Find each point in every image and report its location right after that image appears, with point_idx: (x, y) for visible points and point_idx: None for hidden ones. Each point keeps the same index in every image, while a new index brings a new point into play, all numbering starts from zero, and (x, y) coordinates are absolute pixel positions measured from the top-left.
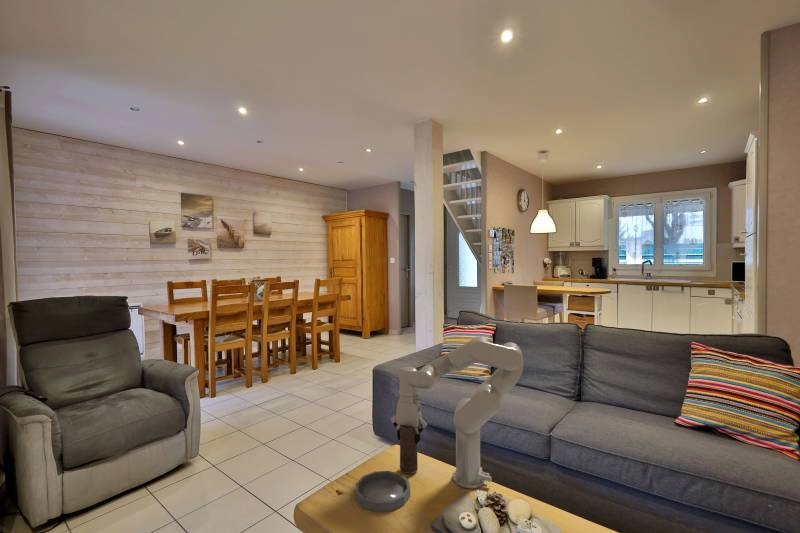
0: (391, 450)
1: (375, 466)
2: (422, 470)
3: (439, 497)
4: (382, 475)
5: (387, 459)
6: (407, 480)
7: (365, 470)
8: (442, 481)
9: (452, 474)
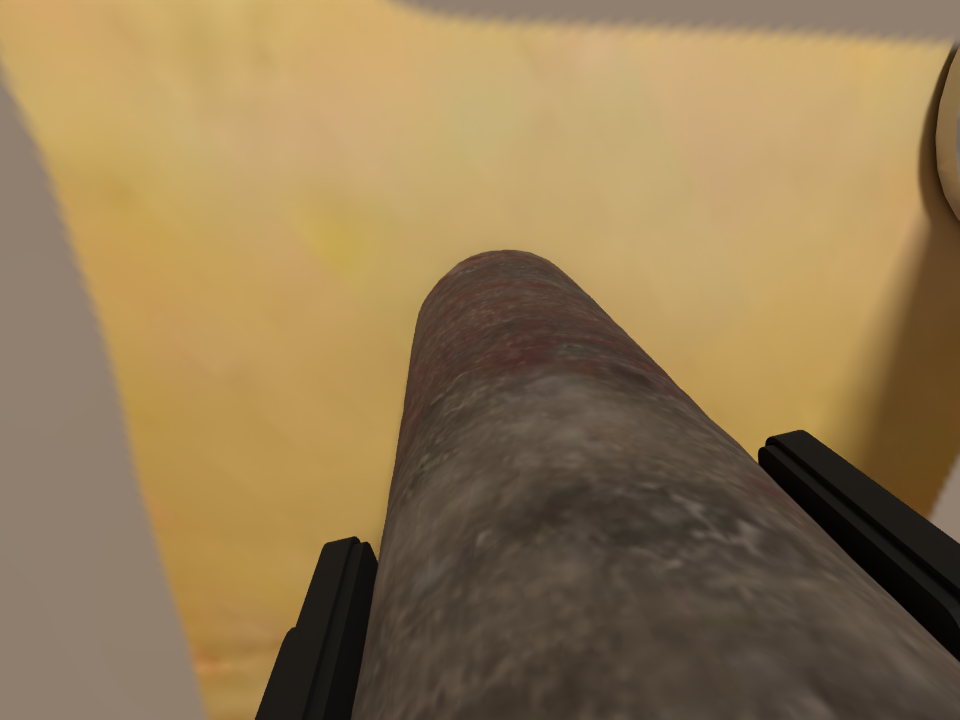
0: (19, 90)
1: (204, 460)
2: (607, 239)
3: (889, 465)
4: None
5: (176, 297)
6: None
7: (198, 547)
8: (853, 278)
9: (956, 151)
